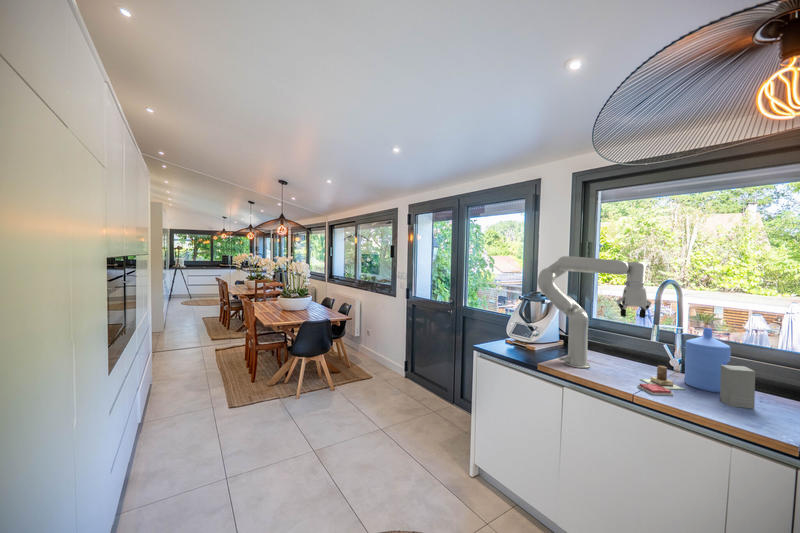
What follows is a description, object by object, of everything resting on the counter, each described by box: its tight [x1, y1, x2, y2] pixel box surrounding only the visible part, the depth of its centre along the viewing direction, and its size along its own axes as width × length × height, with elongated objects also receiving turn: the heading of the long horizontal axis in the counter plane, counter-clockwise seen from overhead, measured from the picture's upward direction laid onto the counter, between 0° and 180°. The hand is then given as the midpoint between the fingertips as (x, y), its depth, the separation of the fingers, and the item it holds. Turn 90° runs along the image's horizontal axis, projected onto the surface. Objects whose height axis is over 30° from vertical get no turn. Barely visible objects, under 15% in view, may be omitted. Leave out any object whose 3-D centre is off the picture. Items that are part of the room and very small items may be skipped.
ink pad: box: [637, 383, 674, 397], centre depth 144 cm, size 9×9×2 cm
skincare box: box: [719, 364, 756, 410], centre depth 131 cm, size 8×7×16 cm
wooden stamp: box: [650, 365, 674, 386], centre depth 152 cm, size 6×6×8 cm
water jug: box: [683, 327, 732, 394], centre depth 151 cm, size 16×16×28 cm
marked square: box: [639, 378, 686, 391], centre depth 152 cm, size 12×12×1 cm
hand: (632, 316), depth 168 cm, fingers open, 9 cm apart
